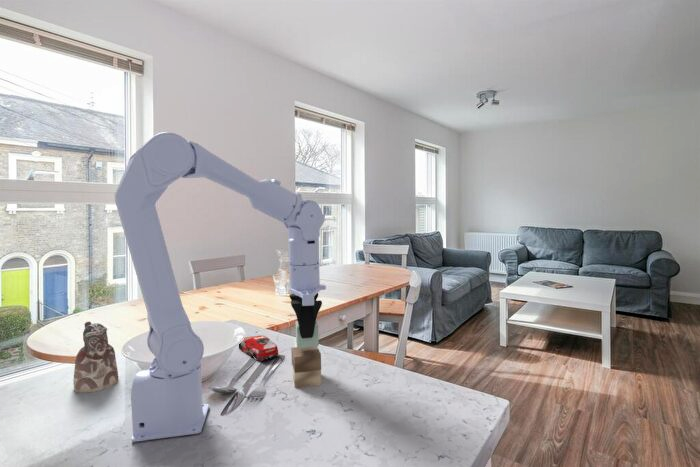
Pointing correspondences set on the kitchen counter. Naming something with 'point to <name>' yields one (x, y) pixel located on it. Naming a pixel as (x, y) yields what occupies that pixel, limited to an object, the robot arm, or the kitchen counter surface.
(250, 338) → the race car
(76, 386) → the figurine
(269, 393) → the kitchen counter surface
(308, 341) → the sage cube
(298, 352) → the walnut top block
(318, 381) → the beech base block
